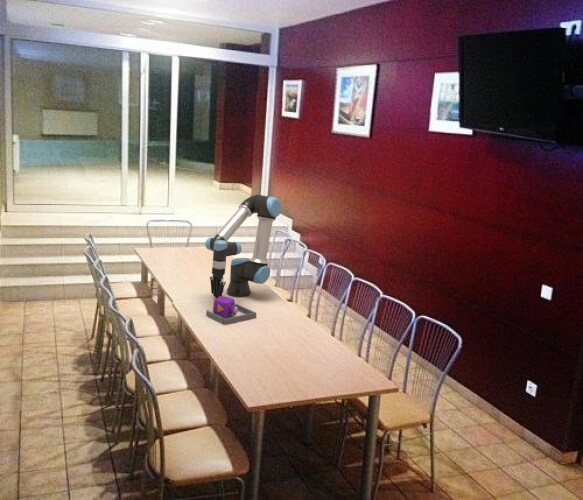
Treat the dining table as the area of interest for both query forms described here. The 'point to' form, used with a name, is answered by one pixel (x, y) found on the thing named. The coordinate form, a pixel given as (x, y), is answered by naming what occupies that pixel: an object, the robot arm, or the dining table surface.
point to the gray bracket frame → (247, 316)
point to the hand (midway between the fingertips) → (215, 306)
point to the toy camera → (225, 306)
